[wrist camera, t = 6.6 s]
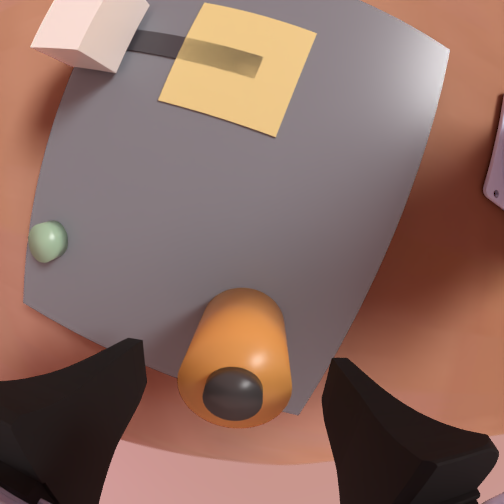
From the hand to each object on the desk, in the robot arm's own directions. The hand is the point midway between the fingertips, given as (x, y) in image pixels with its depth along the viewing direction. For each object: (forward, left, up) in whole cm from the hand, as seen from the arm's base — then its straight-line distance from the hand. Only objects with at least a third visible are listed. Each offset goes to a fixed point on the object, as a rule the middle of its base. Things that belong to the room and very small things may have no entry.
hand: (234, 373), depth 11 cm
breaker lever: (+11, -12, -4) cm, 17 cm away
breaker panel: (+4, -7, -7) cm, 10 cm away
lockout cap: (0, 0, -4) cm, 4 cm away
